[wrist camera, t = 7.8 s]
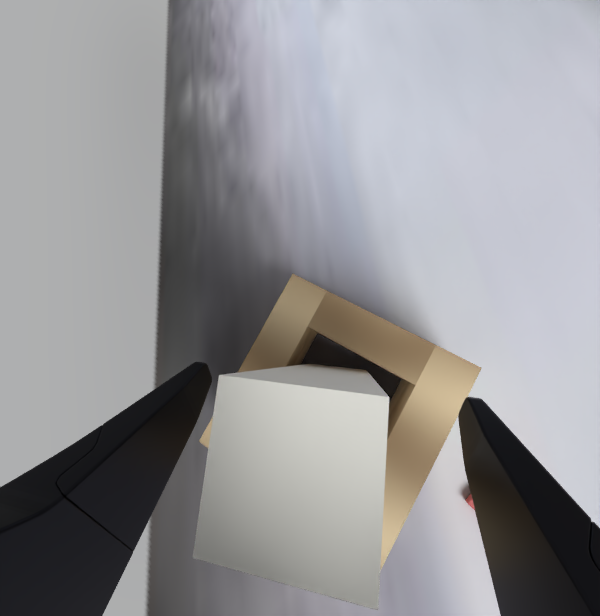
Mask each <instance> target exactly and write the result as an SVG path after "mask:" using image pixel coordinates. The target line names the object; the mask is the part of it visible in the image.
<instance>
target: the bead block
mask: <svg viewBox="0 0 600 616" xmlns="http://www.w3.org/2000/svg"><path fill="white" fill-rule="evenodd" d="M317 333H319V334H320V335H322V336H324V337H326V338H328V339H330V340H331V341H333V342H335V343H337V344H339V345H341V346H342V347H344V348H346V349H348V350H350V351H351V352H353V353H355V354H357V355H359V356H361V357H362V358H364V359H366V360H368V361H370V362H372V363H373V364H375V365H377V366H379V367H381V368H383V369H384V370H386V371H388V372H390V373H392V374H393V375H395V376H397V377H399V378H401V381H400V383H399V385H398V387H397V389H396V391H395V393H394V395H393V397H392V399H391V401H390V403H389V413H388V432H387V452H386V471H385V490H384V509H383V528H382V547H381V566H380V570H381V568H382V566H383V564H384V562H385V560H386V558H387V556H388V554H389V552H390V550H391V548H392V546H393V544H394V542H395V540H396V538H397V536H398V534H399V532H400V530H401V528H402V526H403V524H404V522H405V520H406V518H407V516H408V514H409V512H410V510H411V508H412V506H413V504H414V502H415V500H416V498H417V496H418V494H419V492H420V490H421V488H422V486H423V484H424V482H425V480H426V478H427V476H428V474H429V472H430V470H431V468H432V466H433V464H434V462H435V460H436V458H437V456H438V454H439V452H440V450H441V448H442V446H443V444H444V442H445V440H446V438H447V436H448V434H449V432H450V430H451V428H452V426H453V424H454V422H455V420H456V418H457V416H458V414H459V411H460V409H461V407H462V404H463V402H464V400H465V398H466V397H467V396H468V394H469V392H470V390H471V388H472V386H473V384H474V382H475V380H476V378H477V376H478V374H479V372H480V370H481V367H479V366H477V365H475V364H473V363H471V362H469V361H467V360H465V359H463V358H461V357H459V356H457V355H455V354H453V353H451V352H449V351H446V350H444V349H442V348H440V347H438V346H436V345H434V344H432V343H430V342H428V341H426V340H424V339H422V338H420V337H418V336H416V335H414V334H412V333H410V332H408V331H406V330H404V329H402V328H400V327H398V326H396V325H394V324H392V323H390V322H388V321H386V320H384V319H382V318H380V317H378V316H376V315H374V314H372V313H370V312H368V311H366V310H364V309H362V308H360V307H358V306H356V305H354V304H352V303H350V302H348V301H346V300H344V299H342V298H340V297H338V296H336V295H334V294H332V293H330V292H328V291H326V290H324V289H322V288H320V287H318V286H316V285H314V284H312V283H310V282H308V281H306V280H304V279H302V278H300V277H298V276H296V275H294V274H292V276H291V278H290V279H289V281H288V283H287V285H286V287H285V288H284V290H283V292H282V294H281V295H280V297H279V299H278V301H277V303H276V304H275V306H274V308H273V310H272V312H271V313H270V315H269V317H268V319H267V321H266V322H265V324H264V326H263V328H262V329H261V331H260V333H259V335H258V337H257V338H256V340H255V342H254V344H253V346H252V347H251V349H250V351H249V353H248V355H247V356H246V358H245V360H244V362H243V364H242V365H241V367H240V369H239V371H238V372H237V373H239V372H247V371H255V370H263V369H271V368H279V367H287V366H295V365H301V363H302V361H303V359H304V357H305V355H306V354H307V352H308V350H309V348H310V346H311V344H312V343H313V341H314V339H315V337H316V335H317ZM212 421H213V417H212V419H211V421H210V423H209V424H208V426H207V428H206V430H205V432H204V433H203V435H202V437H201V439H200V440H199V442H200V443H202V444H203V445H204V446H206V447H207V448H209V441H210V434H211V427H212Z"/></svg>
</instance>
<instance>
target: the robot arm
mask: <svg viewBox="0 0 600 616" xmlns="http://www.w3.org/2000/svg"><path fill="white" fill-rule="evenodd" d="M211 382H212V377H211V374H210V371H209V368H208V365H207V364H206V363H203V362H195V363H193V364H192V365H190V366H189V367H187V368H186V369H184V370H183V371H181V372H180V373H178V374H177V375H175V376H174V377H172V378H171V379H169V380H168V381H166V382H165V383H163V384H162V385H160V386H159V387H158V388H156V389H155V390H153V391H152V392H150V393H149V394H147V395H146V396H144V397H143V398H141V399H140V400H138V401H137V402H135V403H134V404H132V405H131V406H130V407H128V408H127V409H125V410H124V411H122V412H121V413H119V414H118V415H116V416H115V417H113V418H112V419H110V420H109V421H107V422H106V423H104V424H103V425H102V426H100V427H98V428H97V429H96V430H94V431H92V432H91V433H89V434H88V435H86V436H85V437H83V438H82V439H80V440H79V441H77V442H76V443H74V444H73V445H71V446H69V447H68V448H66V449H64V450H63V451H61V452H59V453H58V454H56V455H55V456H53V457H51V458H49V459H48V460H46V461H44V462H43V463H41V464H40V465H38V466H36V467H34V468H33V469H31V470H29V471H28V472H26V473H24V474H23V475H21V476H19V477H18V478H16V479H14V480H12V481H11V482H9V483H7V484H5V485H4V486H2V487H0V616H102V615H103V613H104V611H105V609H106V607H107V605H108V603H109V600H110V599H111V597H112V594H113V592H114V590H115V588H116V586H117V584H118V582H119V580H120V578H121V576H122V574H123V572H124V570H125V568H126V566H127V564H128V562H129V560H130V558H131V556H132V554H133V551H134V549H135V547H136V545H137V543H138V541H139V539H140V537H141V535H142V533H143V531H144V529H145V527H146V525H147V523H148V521H149V519H150V516H151V514H152V512H153V510H154V508H155V506H156V504H157V502H158V500H159V498H160V496H161V494H162V492H163V490H164V488H165V486H166V484H167V482H168V480H169V478H170V476H171V474H172V472H173V469H174V467H175V465H176V463H177V461H178V459H179V457H180V455H181V453H182V451H183V449H184V447H185V445H186V443H187V441H188V439H189V437H190V435H191V433H192V431H193V429H194V427H195V424H196V422H197V420H198V418H199V415H200V412H201V410H202V407H203V404H204V402H205V399H206V396H207V393H208V391H209V388H210V385H211ZM458 417H459V427H460V435H461V443H462V450H463V458H464V465H465V471H466V475H467V479H468V483H469V488H470V492H471V496H472V500H473V504H474V508H475V512H476V516H477V520H478V524H479V528H480V532H481V536H482V541H483V545H484V549H485V553H486V557H487V561H488V565H489V569H490V573H491V577H492V581H493V585H494V589H495V594H496V598H497V602H498V606H499V610H500V614H501V616H600V528H599V527H598V526H597V525H596V524H595V523H594V522H591V518H590V517H589V516H588V515H587V514H586V513H585V512H584V511H583V509H582V508H581V507H580V506H579V505H578V504H577V503H576V502H575V501H574V500H573V499H572V497H571V496H570V495H569V494H568V493H567V492H566V491H565V490H564V489H563V488H562V486H561V485H560V484H559V483H558V482H557V481H556V480H555V479H554V478H553V477H552V475H551V474H550V473H549V472H548V471H547V470H546V469H545V468H544V467H543V466H542V464H541V463H540V462H539V461H538V460H537V459H536V458H535V457H534V456H533V455H532V454H531V452H530V451H529V450H528V449H527V448H526V447H525V446H524V445H523V444H522V443H521V441H520V440H519V439H518V438H517V437H516V436H515V435H514V434H513V433H512V432H511V430H510V429H509V428H508V427H507V426H506V425H505V424H504V423H503V422H502V421H501V420H500V418H499V417H498V416H497V415H496V414H495V413H494V412H493V411H492V410H491V409H490V407H489V406H488V405H487V404H486V403H485V402H484V401H483V400H482V399H480V398H473V397H466V398H465V400H464V402H463V404H462V407H461V409H460V411H459V416H458Z"/></svg>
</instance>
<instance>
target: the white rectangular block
mask: <svg viewBox="0 0 600 616" xmlns="http://www.w3.org/2000/svg"><path fill="white" fill-rule="evenodd" d="M388 413H389V396H388V395H387V394H386V393H385V391H384V390H383V389H382V388H381V387H380V386H379V384H378V383H377V382H376V381H375V380H374V379H373V377H372V376H371V375H370V374H369V373H368V372H367V370H363V369H354V368H345V367H336V366H327V365H319V364H303V365H295V366H287V367H279V368H271V369H263V370H255V371H247V372H239V373H231V374H223V375H219V379H218V386H217V393H216V400H215V407H214V414H213V421H212V427H211V434H210V441H209V448H208V455H207V462H206V469H205V476H204V483H203V490H202V497H201V503H200V510H199V517H198V524H197V531H196V538H195V545H194V552H193V558H195V559H198V560H202V561H205V562H209V563H212V564H216V565H219V566H223V567H226V568H230V569H233V570H237V571H240V572H244V573H248V574H251V575H255V576H258V577H262V578H265V579H269V580H272V581H276V582H279V583H283V584H286V585H290V586H294V587H297V588H301V589H304V590H308V591H311V592H315V593H318V594H322V595H325V596H329V597H332V598H336V599H340V600H343V601H347V602H350V603H354V604H357V605H361V606H364V607H368V608H371V609H375V610H378V604H379V585H380V566H381V547H382V528H383V509H384V490H385V471H386V452H387V432H388Z"/></svg>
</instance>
